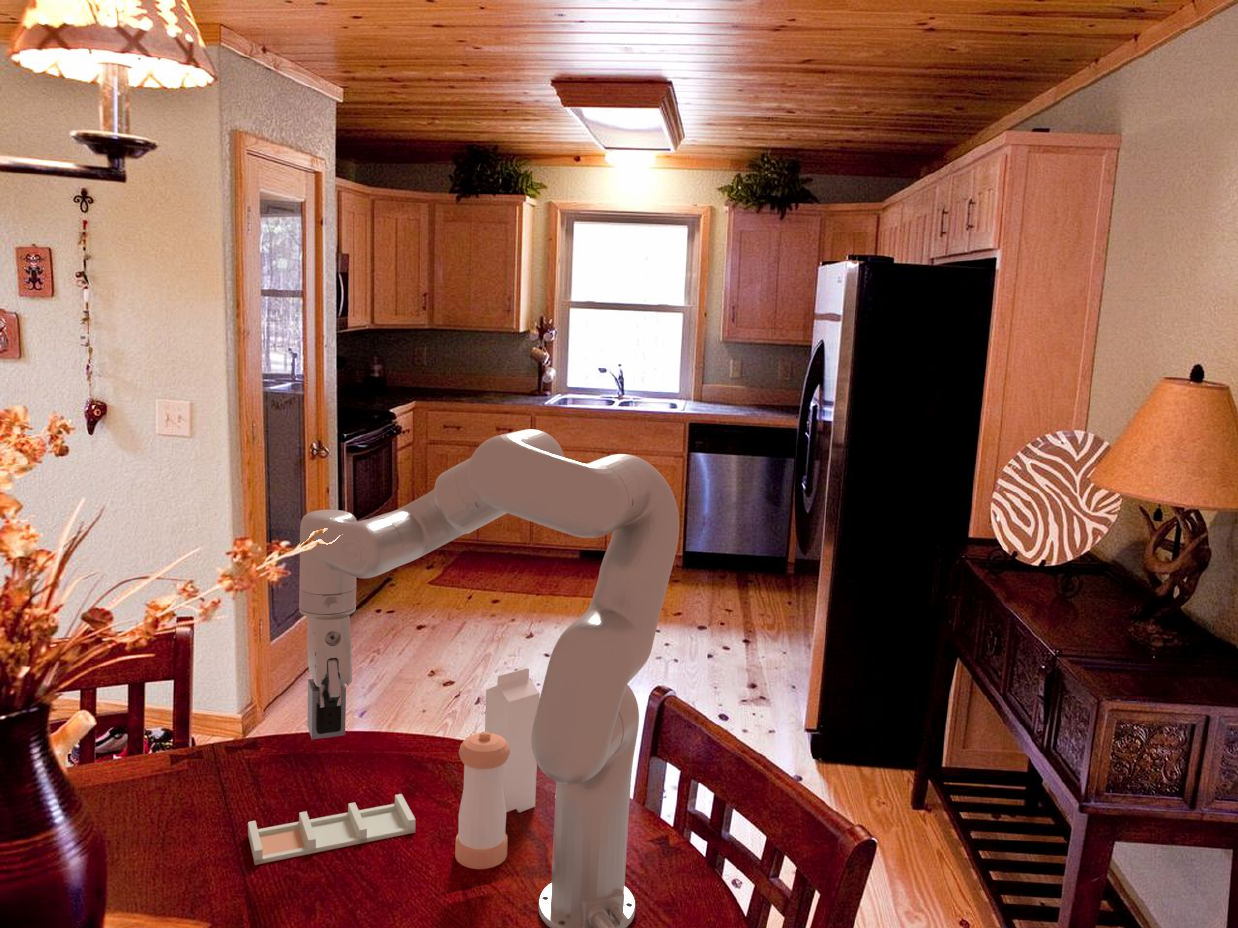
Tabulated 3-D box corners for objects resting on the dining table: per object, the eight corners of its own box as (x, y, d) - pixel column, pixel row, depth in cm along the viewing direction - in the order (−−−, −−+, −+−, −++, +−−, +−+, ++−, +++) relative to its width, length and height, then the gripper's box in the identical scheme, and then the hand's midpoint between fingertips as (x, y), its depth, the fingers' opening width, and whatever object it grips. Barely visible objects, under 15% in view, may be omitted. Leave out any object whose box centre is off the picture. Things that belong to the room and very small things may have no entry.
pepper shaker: (457, 878, 130) (461, 745, 127) (452, 848, 137) (455, 722, 134) (510, 872, 132) (515, 742, 129) (502, 843, 139) (507, 719, 136)
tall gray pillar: (345, 735, 134) (346, 687, 133) (311, 739, 132) (312, 691, 131) (339, 721, 138) (340, 675, 137) (307, 725, 136) (308, 679, 135)
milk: (535, 807, 150) (542, 673, 147) (504, 819, 146) (510, 682, 142) (512, 791, 154) (518, 661, 151) (481, 802, 150) (486, 669, 147)
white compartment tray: (415, 838, 139) (415, 819, 139) (254, 871, 129) (254, 850, 129) (401, 811, 146) (401, 793, 146) (248, 841, 136) (248, 821, 136)
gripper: (367, 616, 126) (364, 746, 129) (345, 581, 141) (343, 697, 144) (307, 621, 123) (306, 754, 126) (292, 584, 138) (290, 703, 141)
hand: (325, 722), depth 135 cm, fingers closed on tall gray pillar, 4 cm apart
